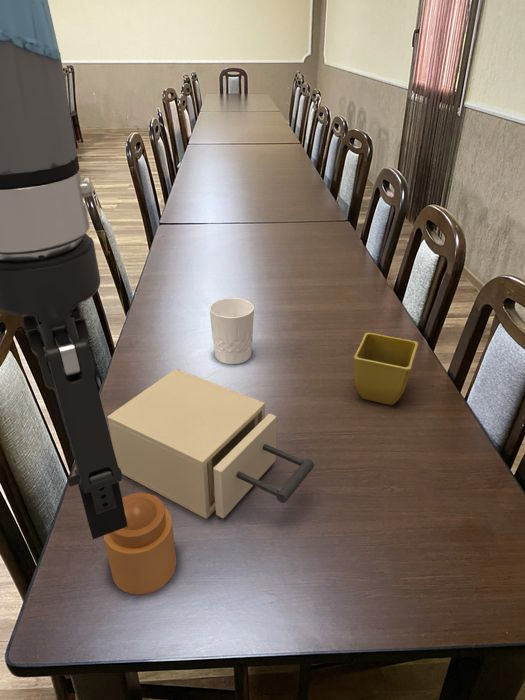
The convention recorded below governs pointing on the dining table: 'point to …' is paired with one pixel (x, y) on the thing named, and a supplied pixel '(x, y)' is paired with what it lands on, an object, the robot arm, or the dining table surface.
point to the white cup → (232, 329)
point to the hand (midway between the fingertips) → (90, 474)
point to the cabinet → (179, 435)
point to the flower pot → (383, 367)
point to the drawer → (250, 466)
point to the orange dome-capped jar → (142, 546)
